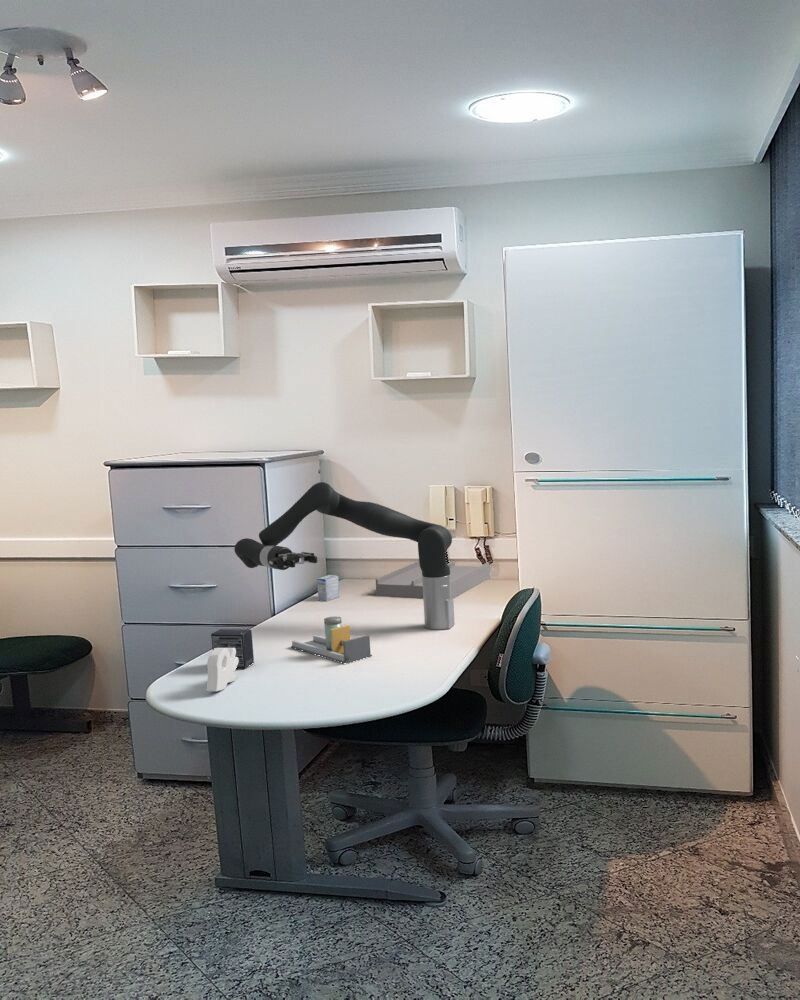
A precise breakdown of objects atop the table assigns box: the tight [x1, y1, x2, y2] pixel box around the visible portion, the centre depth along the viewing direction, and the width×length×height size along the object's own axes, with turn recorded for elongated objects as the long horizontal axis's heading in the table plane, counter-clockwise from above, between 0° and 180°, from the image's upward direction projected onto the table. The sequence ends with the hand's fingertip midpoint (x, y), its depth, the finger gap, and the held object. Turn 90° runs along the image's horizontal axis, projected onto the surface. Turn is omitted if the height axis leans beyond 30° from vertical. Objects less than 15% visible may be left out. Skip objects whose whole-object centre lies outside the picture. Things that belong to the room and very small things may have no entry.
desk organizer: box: [375, 560, 491, 600], centre depth 369 cm, size 32×40×7 cm
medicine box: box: [316, 574, 340, 602], centre depth 358 cm, size 8×4×9 cm, turn 146°
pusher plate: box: [330, 624, 351, 654], centre depth 277 cm, size 5×6×8 cm
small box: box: [210, 628, 255, 669], centre depth 273 cm, size 11×6×10 cm, turn 74°
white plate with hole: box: [206, 648, 239, 692], centre depth 255 cm, size 3×15×11 cm, turn 167°
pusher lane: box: [290, 634, 373, 664], centre depth 283 cm, size 28×10×6 cm, turn 40°
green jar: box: [323, 616, 343, 651], centre depth 281 cm, size 5×5×10 cm
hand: (305, 561), depth 292 cm, fingers open, 8 cm apart
